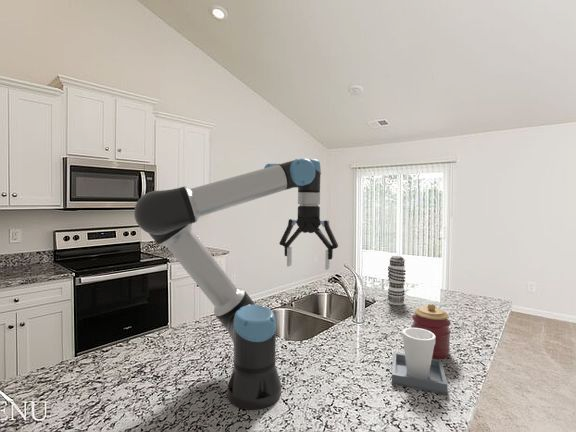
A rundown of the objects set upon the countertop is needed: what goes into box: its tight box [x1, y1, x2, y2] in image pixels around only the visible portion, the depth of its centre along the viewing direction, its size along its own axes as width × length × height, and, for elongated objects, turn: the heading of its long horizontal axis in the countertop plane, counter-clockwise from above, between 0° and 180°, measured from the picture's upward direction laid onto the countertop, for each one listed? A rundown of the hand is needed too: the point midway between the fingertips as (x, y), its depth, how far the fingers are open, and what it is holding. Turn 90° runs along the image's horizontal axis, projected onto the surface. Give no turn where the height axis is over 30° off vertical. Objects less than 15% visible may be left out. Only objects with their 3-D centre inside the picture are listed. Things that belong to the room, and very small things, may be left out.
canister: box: [411, 303, 452, 360], centre depth 118 cm, size 13×13×18 cm
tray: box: [391, 352, 448, 396], centre depth 101 cm, size 15×15×3 cm
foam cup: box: [402, 327, 436, 379], centre depth 101 cm, size 10×9×13 cm
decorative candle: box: [387, 255, 406, 306], centre depth 174 cm, size 9×9×25 cm
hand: (307, 267), depth 111 cm, fingers open, 13 cm apart
